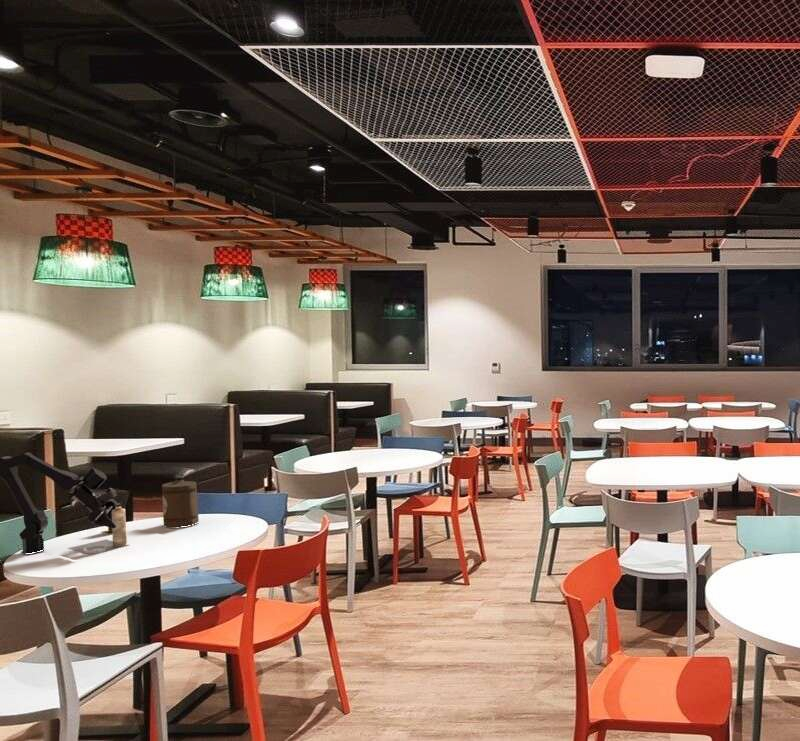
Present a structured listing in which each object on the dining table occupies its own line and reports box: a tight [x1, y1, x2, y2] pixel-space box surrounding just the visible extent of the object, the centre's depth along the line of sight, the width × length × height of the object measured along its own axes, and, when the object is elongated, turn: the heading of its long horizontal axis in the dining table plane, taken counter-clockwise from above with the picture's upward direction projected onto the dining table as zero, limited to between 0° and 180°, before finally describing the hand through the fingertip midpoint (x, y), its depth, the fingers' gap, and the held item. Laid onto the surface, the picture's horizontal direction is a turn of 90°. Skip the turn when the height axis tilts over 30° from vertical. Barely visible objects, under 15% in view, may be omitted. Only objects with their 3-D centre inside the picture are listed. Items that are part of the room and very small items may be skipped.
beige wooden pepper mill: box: [111, 506, 128, 548], centre depth 286 cm, size 5×5×15 cm
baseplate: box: [67, 538, 130, 555], centre depth 286 cm, size 16×18×2 cm
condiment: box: [101, 502, 122, 536], centre depth 315 cm, size 7×8×12 cm
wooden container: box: [161, 474, 199, 528], centre depth 325 cm, size 15×15×22 cm
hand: (118, 525), depth 286 cm, fingers open, 9 cm apart
